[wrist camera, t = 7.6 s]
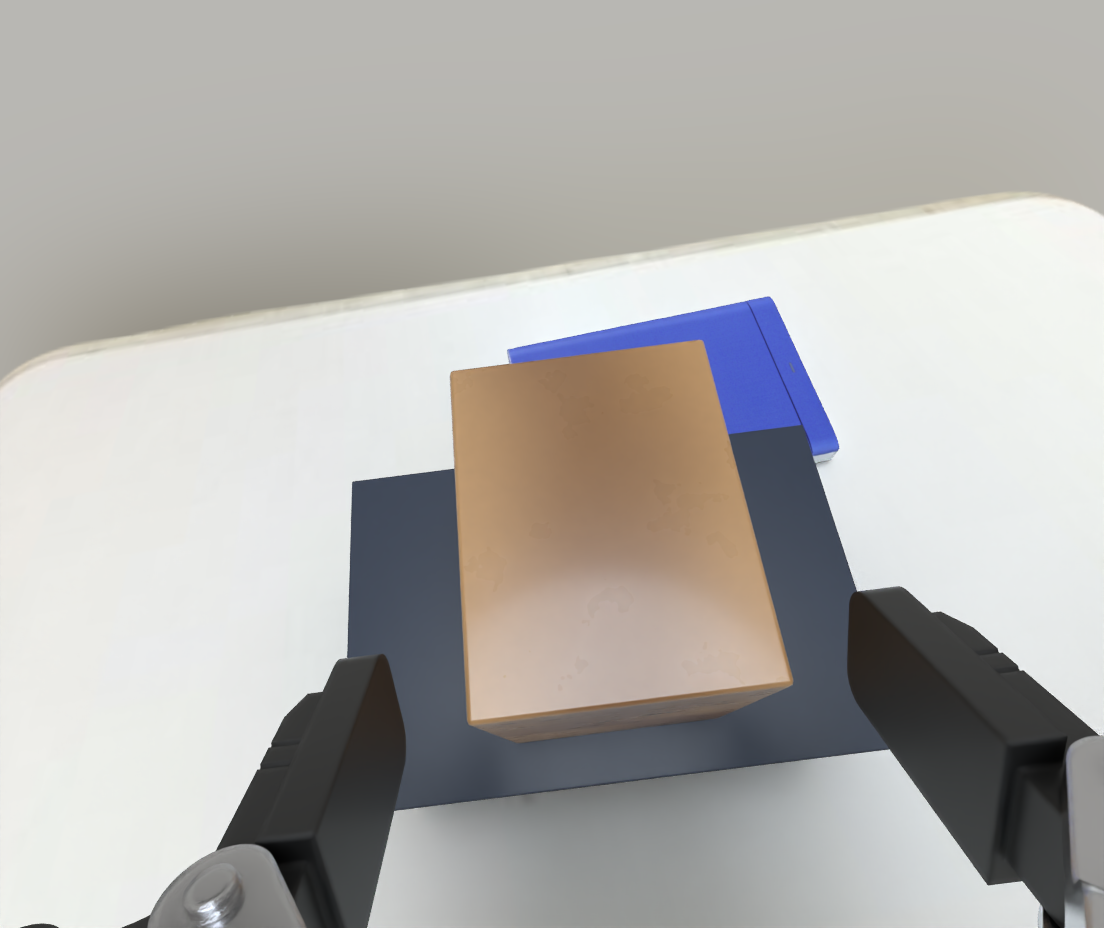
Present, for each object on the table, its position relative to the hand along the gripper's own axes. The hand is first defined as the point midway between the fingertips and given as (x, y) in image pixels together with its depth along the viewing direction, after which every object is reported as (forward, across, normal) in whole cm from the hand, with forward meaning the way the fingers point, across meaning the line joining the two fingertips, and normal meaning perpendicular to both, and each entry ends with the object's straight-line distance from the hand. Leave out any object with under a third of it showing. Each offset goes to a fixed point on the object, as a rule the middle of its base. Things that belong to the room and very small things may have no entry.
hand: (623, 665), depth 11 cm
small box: (+7, 0, -3) cm, 7 cm away
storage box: (+12, 0, -8) cm, 14 cm away
